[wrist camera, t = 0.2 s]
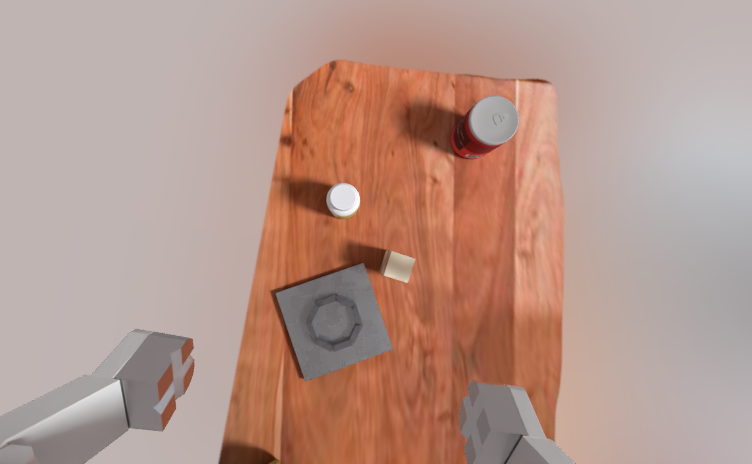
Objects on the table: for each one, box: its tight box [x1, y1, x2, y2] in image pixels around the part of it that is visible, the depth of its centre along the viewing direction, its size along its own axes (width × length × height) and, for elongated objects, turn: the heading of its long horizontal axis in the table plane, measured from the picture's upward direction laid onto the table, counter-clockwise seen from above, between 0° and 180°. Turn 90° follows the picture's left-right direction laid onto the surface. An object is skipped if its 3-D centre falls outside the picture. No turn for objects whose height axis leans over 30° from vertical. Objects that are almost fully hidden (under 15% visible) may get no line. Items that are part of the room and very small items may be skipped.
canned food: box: [451, 96, 519, 159], centre depth 61 cm, size 8×8×11 cm
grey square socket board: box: [275, 263, 393, 382], centre depth 62 cm, size 16×16×3 cm
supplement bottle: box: [326, 183, 360, 219], centre depth 60 cm, size 5×5×10 cm
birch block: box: [379, 250, 415, 283], centre depth 61 cm, size 4×4×8 cm
